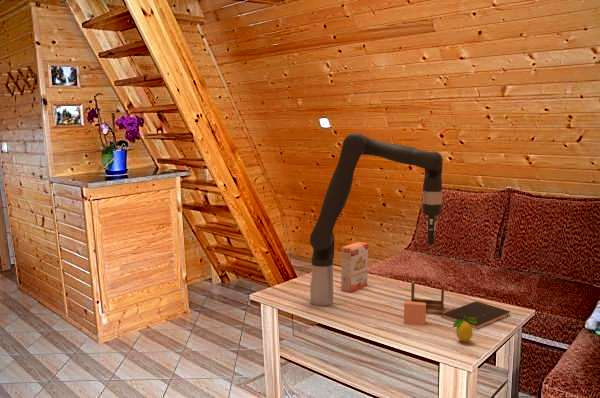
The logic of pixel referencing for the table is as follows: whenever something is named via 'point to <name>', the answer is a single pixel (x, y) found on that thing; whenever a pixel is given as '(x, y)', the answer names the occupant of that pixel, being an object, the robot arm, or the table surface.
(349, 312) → the table surface
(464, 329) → the lemon
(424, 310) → the door panel
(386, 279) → the table surface
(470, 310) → the hardcover book
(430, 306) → the track frame
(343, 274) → the cracker box
